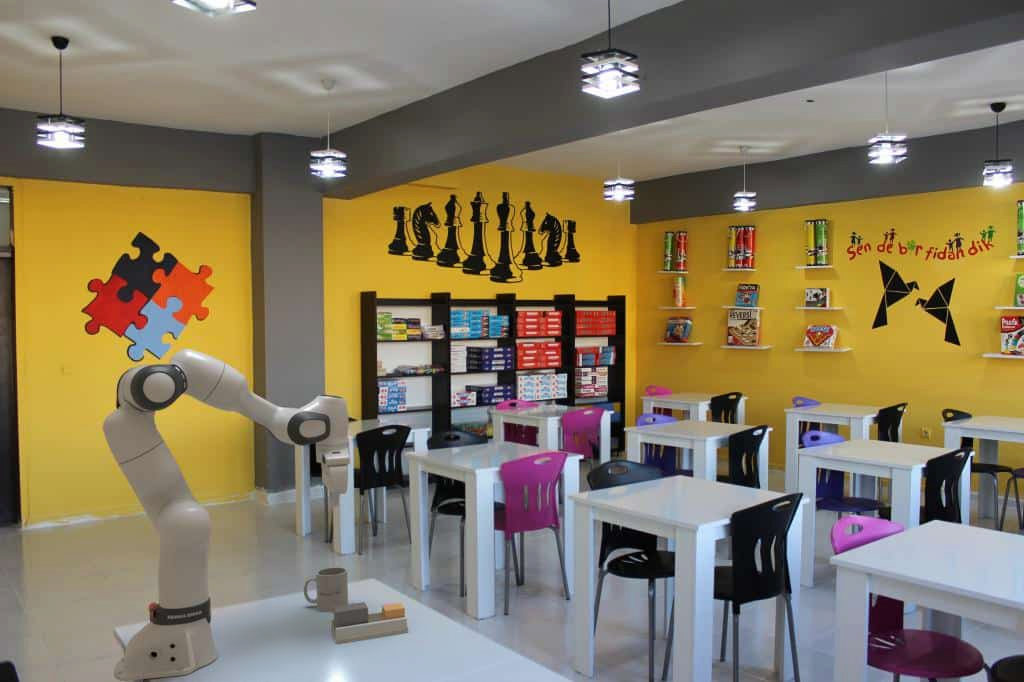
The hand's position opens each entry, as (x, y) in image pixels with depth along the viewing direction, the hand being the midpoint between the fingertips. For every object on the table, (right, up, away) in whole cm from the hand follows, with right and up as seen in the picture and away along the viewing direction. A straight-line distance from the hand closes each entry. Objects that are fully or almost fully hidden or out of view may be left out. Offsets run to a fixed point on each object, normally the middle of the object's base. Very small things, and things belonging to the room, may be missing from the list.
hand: (334, 505), depth 219 cm
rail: (+11, -31, -9) cm, 34 cm away
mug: (-5, -32, +13) cm, 34 cm away
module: (+7, -30, -11) cm, 32 cm away
